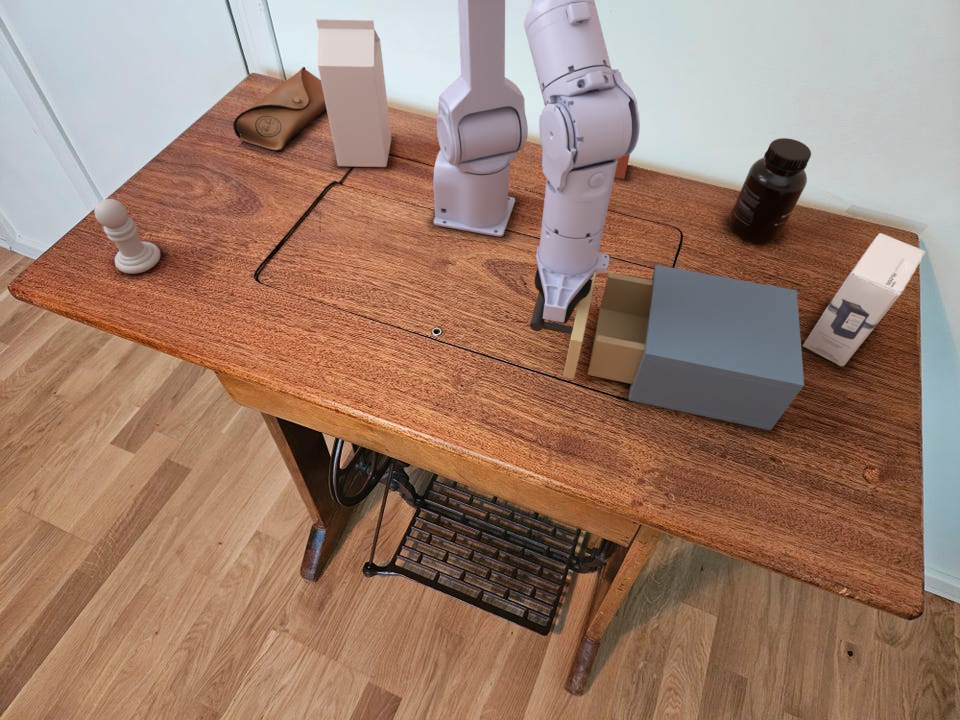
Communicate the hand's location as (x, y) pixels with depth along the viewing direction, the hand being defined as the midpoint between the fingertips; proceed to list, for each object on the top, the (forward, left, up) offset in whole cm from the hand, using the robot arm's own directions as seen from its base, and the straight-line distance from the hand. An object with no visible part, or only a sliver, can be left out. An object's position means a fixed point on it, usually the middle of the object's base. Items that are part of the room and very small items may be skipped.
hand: (558, 317), depth 68 cm
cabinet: (+16, 0, -4) cm, 17 cm away
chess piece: (-53, -1, -4) cm, 53 cm away
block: (+2, +34, -4) cm, 34 cm away
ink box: (+31, +9, -4) cm, 33 cm away
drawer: (+6, 0, -3) cm, 7 cm away
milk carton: (-34, +28, -4) cm, 44 cm away
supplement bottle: (+22, +26, -4) cm, 35 cm away
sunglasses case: (-48, +34, -4) cm, 59 cm away
